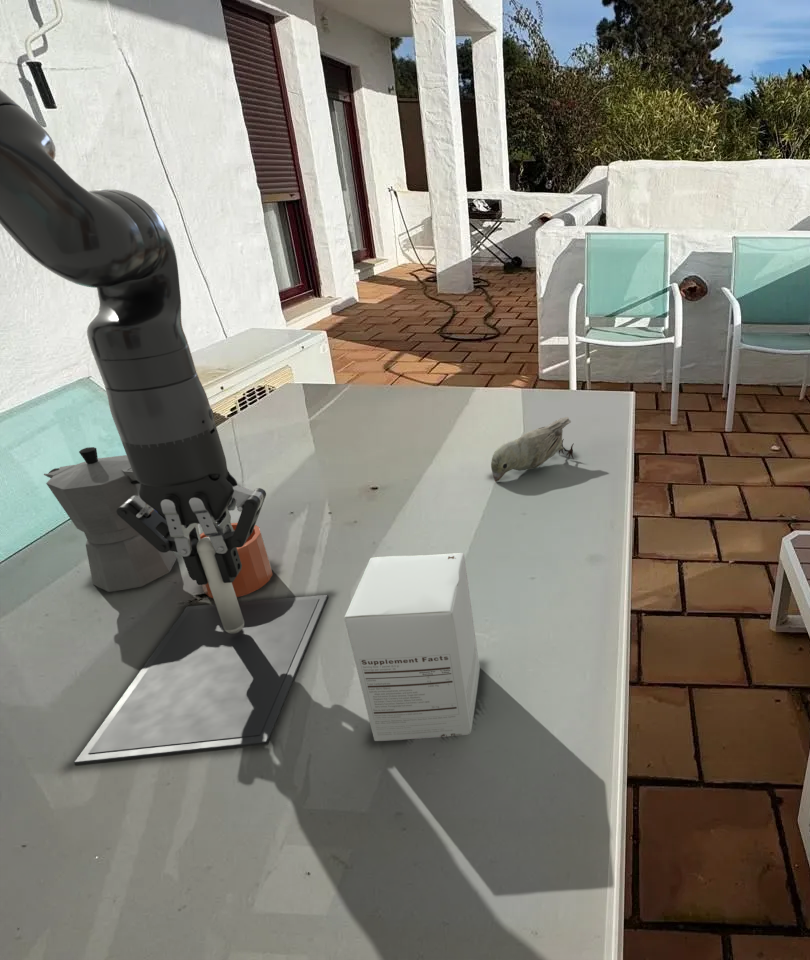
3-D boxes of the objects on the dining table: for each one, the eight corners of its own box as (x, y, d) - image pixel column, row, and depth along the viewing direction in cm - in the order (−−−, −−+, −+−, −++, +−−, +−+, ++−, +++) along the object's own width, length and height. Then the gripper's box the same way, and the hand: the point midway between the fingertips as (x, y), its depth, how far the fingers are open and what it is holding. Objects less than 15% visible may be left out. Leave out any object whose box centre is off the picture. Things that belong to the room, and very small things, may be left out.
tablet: (77, 770, 55) (72, 761, 55) (189, 613, 75) (186, 605, 75) (269, 749, 57) (266, 740, 57) (329, 601, 77) (327, 593, 76)
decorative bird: (485, 477, 107) (481, 436, 104) (560, 451, 117) (558, 413, 113) (503, 487, 103) (499, 445, 100) (578, 460, 113) (578, 421, 110)
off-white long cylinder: (223, 638, 69) (190, 544, 63) (230, 626, 70) (199, 533, 65) (242, 636, 69) (211, 542, 64) (249, 624, 71) (219, 532, 65)
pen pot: (195, 606, 76) (177, 557, 73) (220, 570, 83) (205, 524, 80) (261, 601, 77) (247, 552, 74) (281, 566, 84) (268, 520, 81)
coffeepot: (60, 595, 78) (-3, 463, 70) (118, 553, 87) (68, 431, 79) (177, 601, 77) (126, 467, 69) (225, 558, 86) (184, 434, 78)
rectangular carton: (394, 676, 65) (368, 554, 59) (481, 671, 66) (466, 549, 59) (372, 748, 57) (339, 616, 51) (472, 742, 58) (453, 610, 51)
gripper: (61, 446, 55) (129, 607, 63) (230, 437, 56) (276, 595, 64) (110, 415, 61) (166, 564, 69) (259, 408, 63) (298, 555, 71)
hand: (219, 578), depth 67 cm, fingers closed on off-white long cylinder, 2 cm apart
